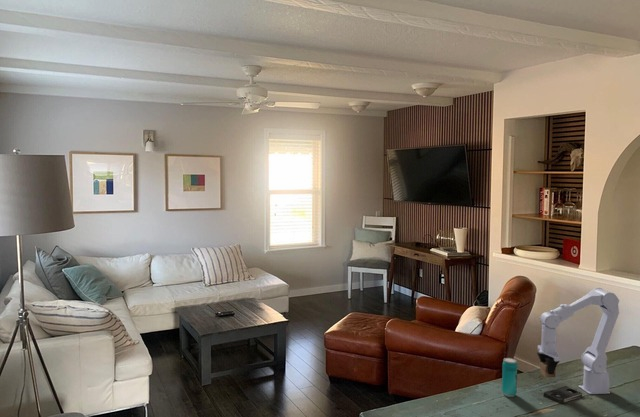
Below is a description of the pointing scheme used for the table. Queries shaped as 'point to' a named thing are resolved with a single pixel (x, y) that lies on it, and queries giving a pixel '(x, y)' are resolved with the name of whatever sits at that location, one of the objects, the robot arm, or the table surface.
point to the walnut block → (545, 370)
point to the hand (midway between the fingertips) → (547, 371)
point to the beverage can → (509, 377)
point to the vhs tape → (562, 394)
